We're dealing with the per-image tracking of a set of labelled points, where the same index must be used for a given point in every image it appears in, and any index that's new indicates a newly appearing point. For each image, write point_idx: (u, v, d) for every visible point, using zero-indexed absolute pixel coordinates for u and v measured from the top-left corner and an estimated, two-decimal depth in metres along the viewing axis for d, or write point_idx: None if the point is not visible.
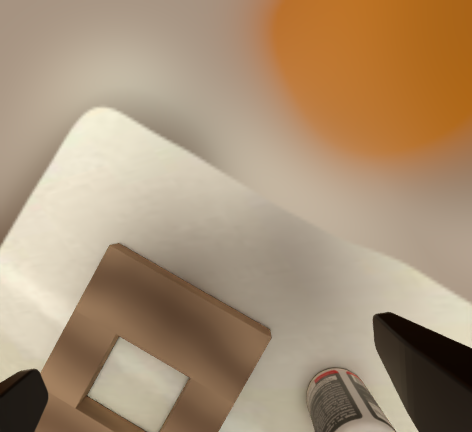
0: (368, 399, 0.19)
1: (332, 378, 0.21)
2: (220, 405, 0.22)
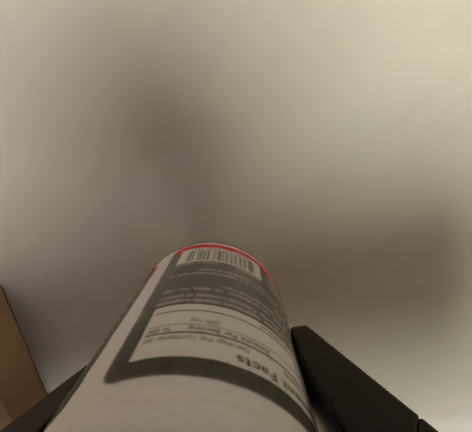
0: (168, 298, 0.06)
1: None
2: None
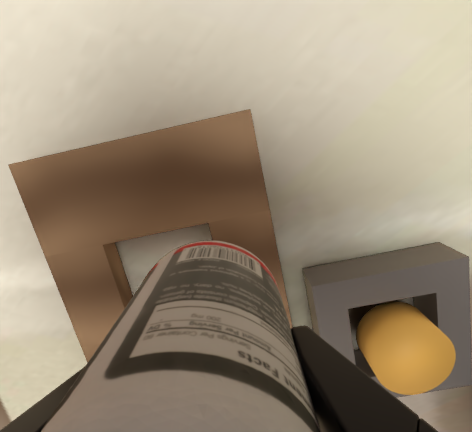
0: (169, 295, 0.06)
1: (138, 289, 0.08)
2: (258, 223, 0.17)
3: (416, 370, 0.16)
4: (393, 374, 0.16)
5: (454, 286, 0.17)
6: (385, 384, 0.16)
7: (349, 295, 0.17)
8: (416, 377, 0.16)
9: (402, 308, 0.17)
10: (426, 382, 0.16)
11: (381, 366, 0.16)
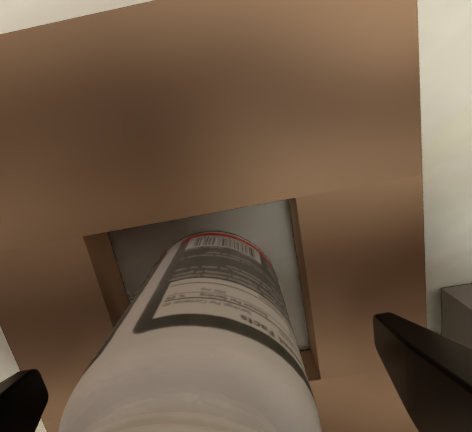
0: (181, 274, 0.07)
1: None
2: (395, 201, 0.09)
3: None
4: None
5: None
6: None
7: None
8: None
9: None
10: None
11: None
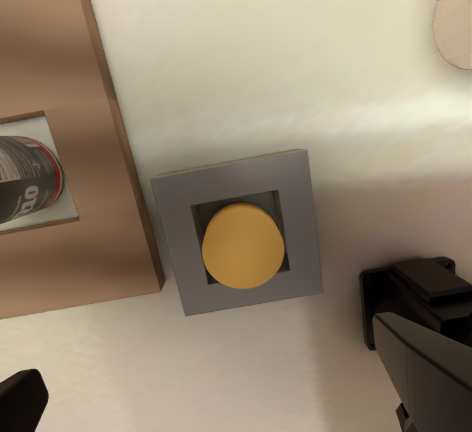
0: None
1: None
2: (96, 112, 0.16)
3: (246, 261, 0.16)
4: (223, 266, 0.16)
5: (296, 183, 0.17)
6: (216, 277, 0.16)
7: (190, 190, 0.17)
8: (247, 269, 0.16)
9: (243, 204, 0.17)
10: (257, 275, 0.16)
11: (210, 256, 0.15)
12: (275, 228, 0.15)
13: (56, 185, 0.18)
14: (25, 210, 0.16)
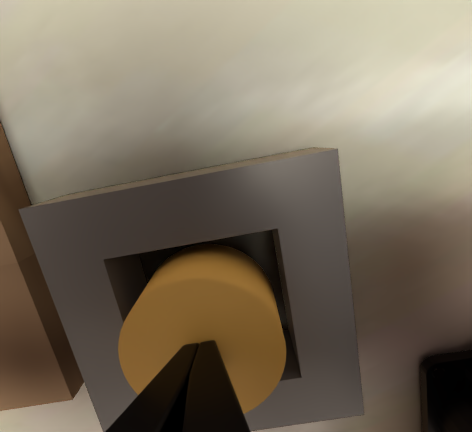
0: None
1: None
2: None
3: None
4: None
5: (313, 215, 0.08)
6: None
7: (100, 230, 0.08)
8: None
9: (208, 252, 0.09)
10: None
11: (135, 364, 0.08)
12: (267, 311, 0.07)
13: None
14: None
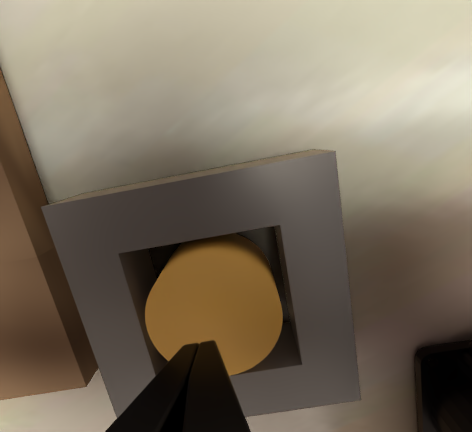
0: None
1: None
2: None
3: (219, 335, 0.09)
4: (181, 341, 0.09)
5: (313, 213, 0.09)
6: None
7: (116, 226, 0.09)
8: (221, 347, 0.09)
9: (218, 237, 0.10)
10: (239, 356, 0.10)
11: (158, 327, 0.09)
12: (267, 282, 0.09)
13: None
14: None
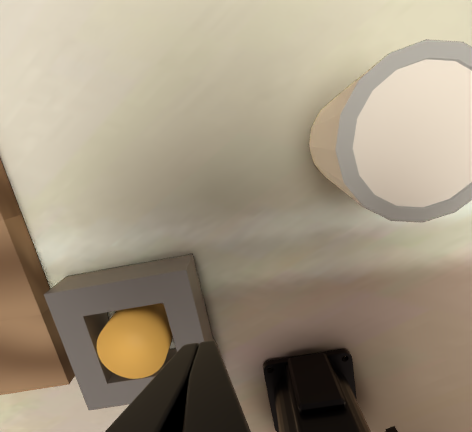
0: None
1: None
2: None
3: (135, 357, 0.18)
4: (115, 360, 0.18)
5: (179, 297, 0.18)
6: (111, 369, 0.19)
7: (81, 303, 0.18)
8: (137, 363, 0.18)
9: None
10: (146, 368, 0.18)
11: (103, 353, 0.18)
12: (156, 331, 0.18)
13: None
14: None
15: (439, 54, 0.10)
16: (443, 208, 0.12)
